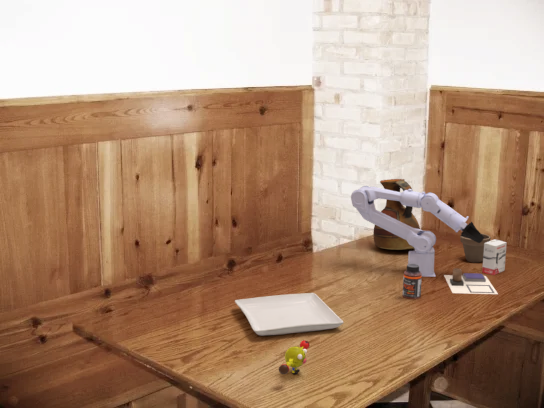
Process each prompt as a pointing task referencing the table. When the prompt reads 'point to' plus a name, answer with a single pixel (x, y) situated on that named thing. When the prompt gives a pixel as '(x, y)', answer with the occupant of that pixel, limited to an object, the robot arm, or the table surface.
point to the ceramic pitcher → (397, 212)
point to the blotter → (472, 287)
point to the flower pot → (474, 248)
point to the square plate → (288, 314)
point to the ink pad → (474, 277)
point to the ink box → (494, 257)
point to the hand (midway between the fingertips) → (482, 240)
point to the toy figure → (295, 358)
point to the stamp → (457, 278)
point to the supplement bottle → (412, 282)
